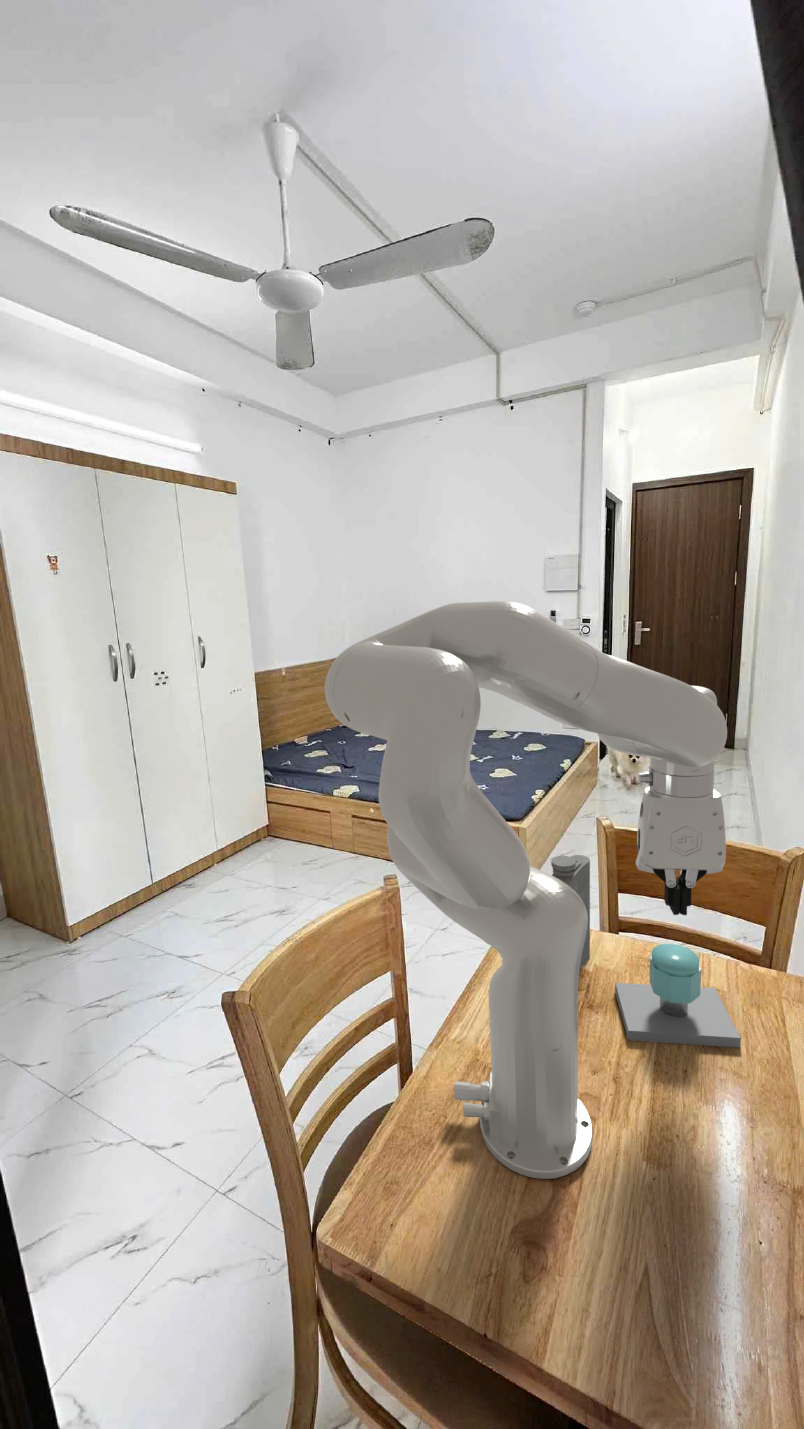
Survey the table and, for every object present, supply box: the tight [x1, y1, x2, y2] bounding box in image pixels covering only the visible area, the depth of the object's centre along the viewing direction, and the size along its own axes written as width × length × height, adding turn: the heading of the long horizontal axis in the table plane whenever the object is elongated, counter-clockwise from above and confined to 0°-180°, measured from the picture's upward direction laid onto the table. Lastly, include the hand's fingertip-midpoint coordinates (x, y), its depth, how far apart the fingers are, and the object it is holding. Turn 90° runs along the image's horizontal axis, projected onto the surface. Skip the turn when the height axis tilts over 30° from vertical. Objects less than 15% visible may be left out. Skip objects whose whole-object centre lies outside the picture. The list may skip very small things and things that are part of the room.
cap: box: [649, 943, 702, 1003], centre depth 82 cm, size 6×6×5 cm
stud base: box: [614, 982, 742, 1049], centre depth 84 cm, size 14×10×2 cm
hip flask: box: [550, 854, 591, 971], centre depth 92 cm, size 16×4×20 cm, turn 148°
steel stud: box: [660, 997, 688, 1017], centre depth 83 cm, size 4×4×7 cm
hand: (677, 909), depth 81 cm, fingers closed
